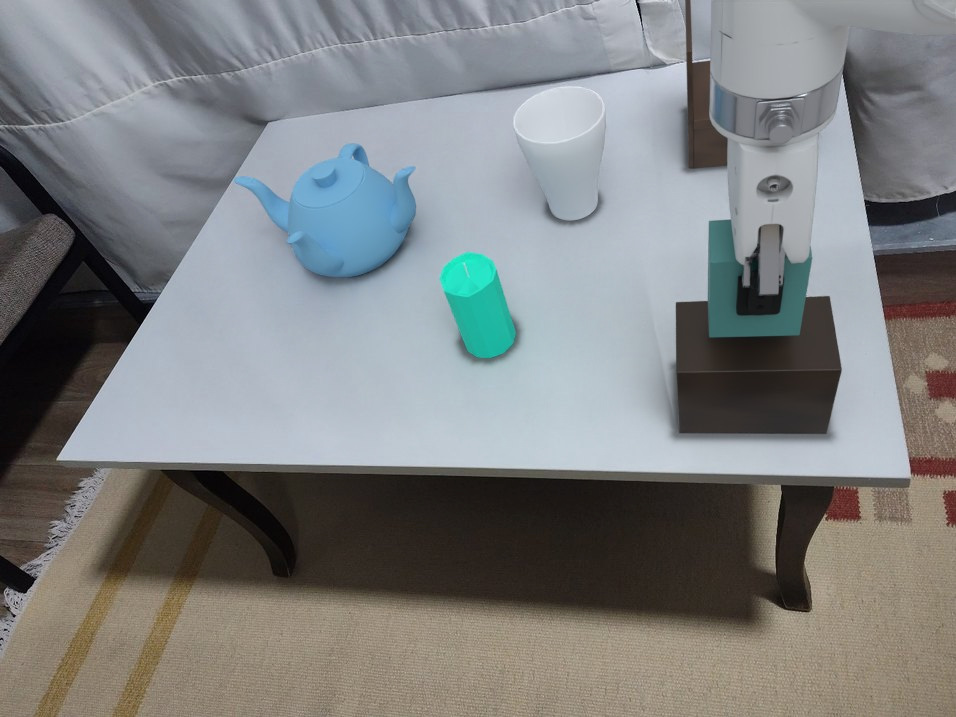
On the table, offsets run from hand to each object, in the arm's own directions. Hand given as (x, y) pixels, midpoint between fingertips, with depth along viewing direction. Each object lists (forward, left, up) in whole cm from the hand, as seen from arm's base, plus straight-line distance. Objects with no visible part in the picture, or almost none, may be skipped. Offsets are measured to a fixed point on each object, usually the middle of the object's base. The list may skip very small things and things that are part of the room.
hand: (755, 285), depth 61 cm
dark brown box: (0, 0, -16) cm, 16 cm away
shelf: (-2, -40, -16) cm, 44 cm away
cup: (+19, -29, -16) cm, 39 cm away
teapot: (+48, -24, -16) cm, 56 cm away
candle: (+27, -8, -16) cm, 33 cm away
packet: (0, 0, -4) cm, 4 cm away
